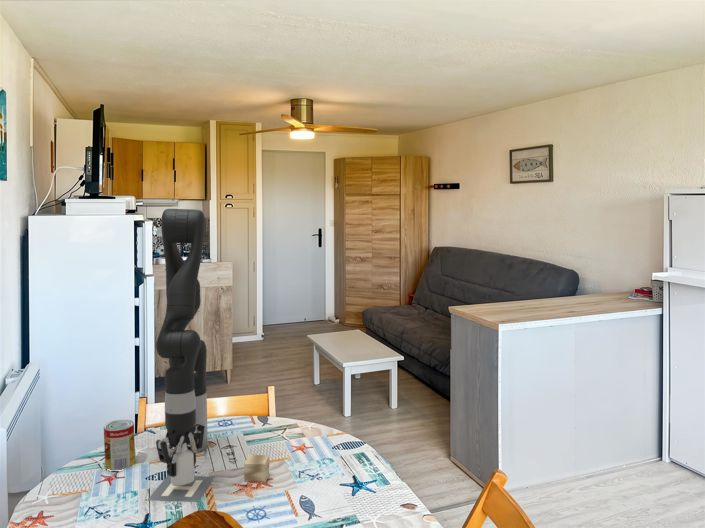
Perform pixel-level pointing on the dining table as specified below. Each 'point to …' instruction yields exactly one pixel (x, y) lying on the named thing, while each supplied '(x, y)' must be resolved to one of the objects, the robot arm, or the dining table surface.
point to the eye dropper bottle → (184, 467)
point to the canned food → (119, 444)
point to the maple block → (256, 468)
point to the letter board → (182, 490)
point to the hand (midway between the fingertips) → (182, 470)
